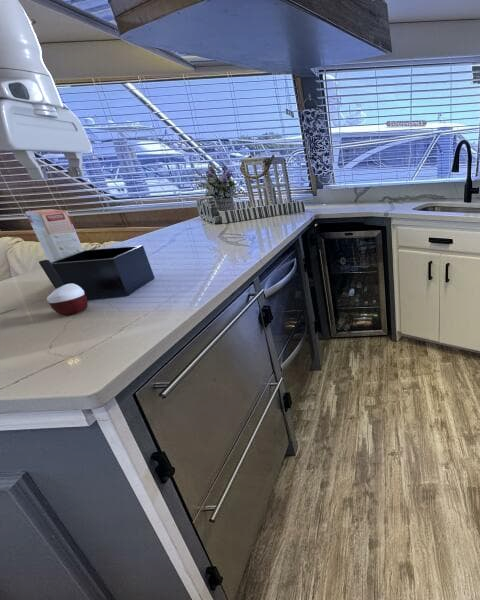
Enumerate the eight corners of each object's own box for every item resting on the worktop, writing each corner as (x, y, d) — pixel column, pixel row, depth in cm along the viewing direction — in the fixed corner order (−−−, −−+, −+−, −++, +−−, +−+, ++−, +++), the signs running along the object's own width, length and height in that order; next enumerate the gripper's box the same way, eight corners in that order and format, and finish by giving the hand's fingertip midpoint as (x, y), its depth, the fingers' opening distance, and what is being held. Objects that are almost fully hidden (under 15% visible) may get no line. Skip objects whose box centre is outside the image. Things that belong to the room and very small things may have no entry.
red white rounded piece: (88, 314, 73) (65, 264, 68) (51, 322, 70) (23, 270, 65) (95, 301, 80) (74, 255, 76) (61, 308, 77) (37, 260, 73)
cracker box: (99, 282, 95) (67, 209, 86) (72, 289, 90) (36, 213, 82) (83, 275, 102) (52, 207, 94) (57, 281, 97) (22, 210, 89)
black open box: (62, 302, 81) (43, 264, 77) (99, 283, 94) (85, 250, 90) (128, 295, 83) (112, 258, 80) (154, 278, 97) (143, 245, 93)
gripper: (50, 104, 65) (79, 176, 71) (-59, 81, 47) (-9, 181, 53) (86, 104, 67) (111, 175, 72) (-8, 81, 48) (36, 179, 54)
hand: (60, 178), depth 62 cm, fingers open, 8 cm apart
